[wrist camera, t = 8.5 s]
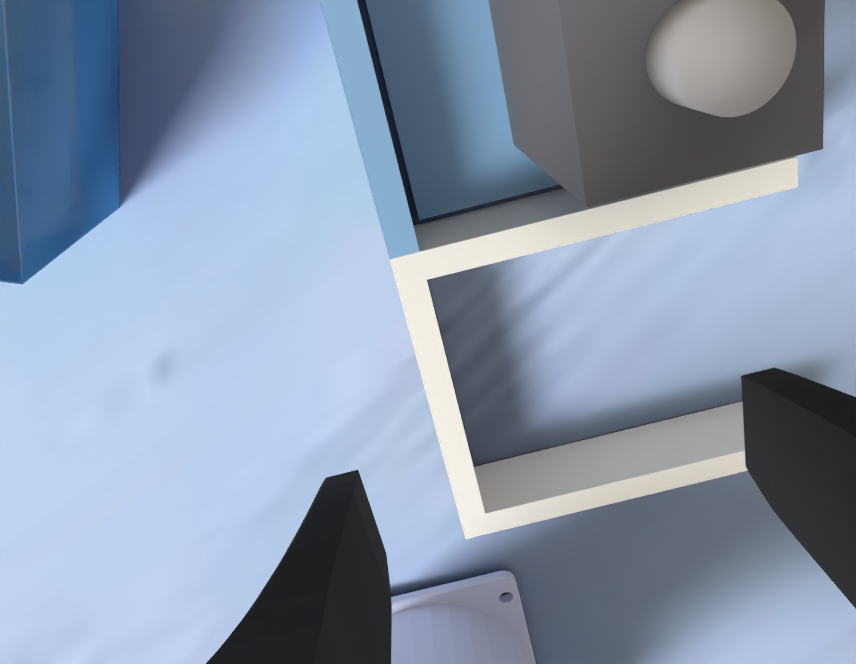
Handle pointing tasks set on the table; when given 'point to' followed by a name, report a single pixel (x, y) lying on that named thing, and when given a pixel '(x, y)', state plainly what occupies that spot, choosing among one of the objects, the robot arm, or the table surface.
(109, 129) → the perfume bottle
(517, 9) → the plug
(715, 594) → the table surface
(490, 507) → the two-rail blue tray
